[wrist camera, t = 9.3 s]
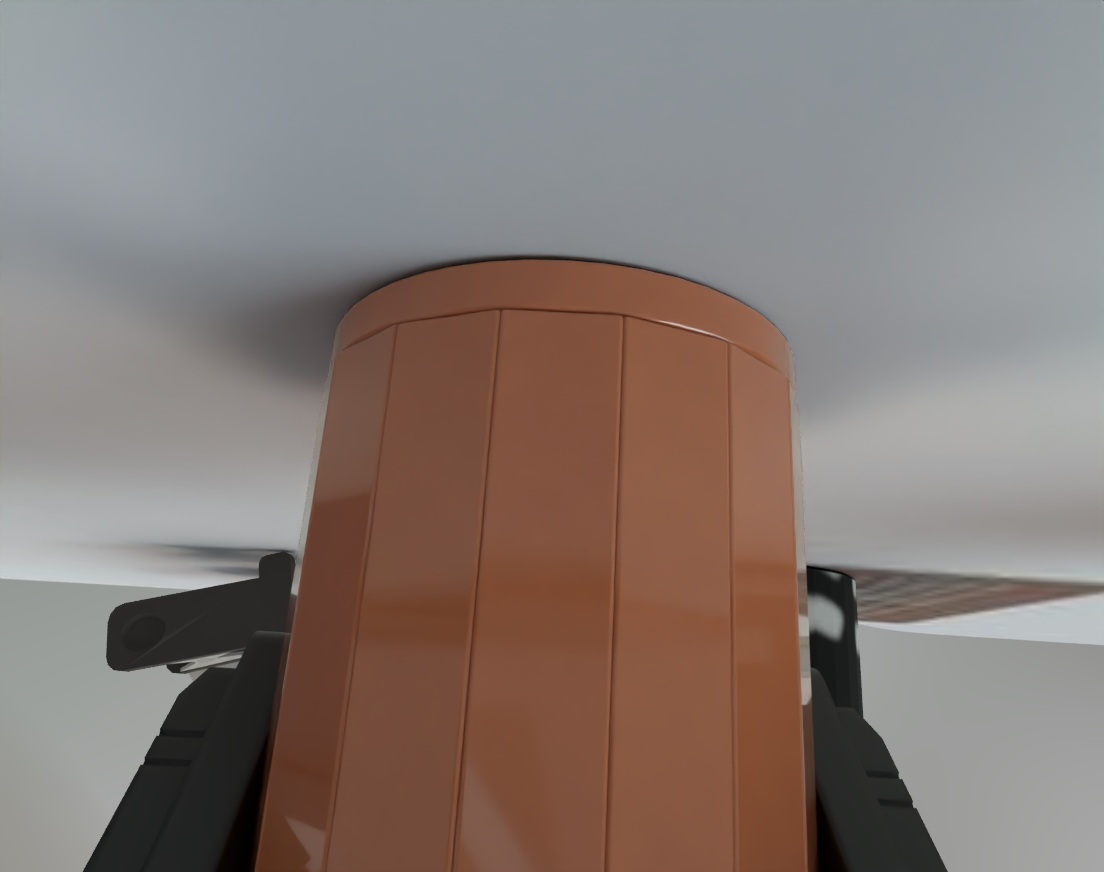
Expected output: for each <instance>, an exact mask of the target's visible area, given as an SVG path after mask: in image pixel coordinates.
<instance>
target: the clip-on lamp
mask: <svg viewBox="0 0 1104 872" xmlns="http://www.w3.org/2000/svg"><path fill="white" fill-rule="evenodd" d="M295 564H296V563H295V559H294V557H293V556H292V555H291V554H289V553H287V552H280V553H275V554H270V555H266V556H264V557H262V559H261V560H260V562H259V578H256V579H250V580H245V581H240V582H234V583H229V584H224V585H219V586H213V587H208V588H203V589H198V590H192V591H187V592H182V593H176V594H171V595H166V596H161V597H156V598H150V599H145V600H140V601H134V602H129V603H124V604H122V605H120V606H118V607H116V608H115V609H114V611H113V612H112V613H111V614H110V617H109V621H108V630H107V631H108V632H107V652H106V653H107V654H106V658H107V663H108V665H109V666H110V667H111V668H112V669H113V670H117V671H128V672H129V671H134V670H139V669H145V668H150V667H155V666H160V665H167V668H168V669H169V670H170V671H171V672H172V673H181V674H186V673H189V674H190V677H191V678H192V680H193V682H194V681H195V680H196V679H197V678H198V677H199V676H200V675H201V674H203V673H204V672H205V671H206V670H207V669H208V668H209V667H222V668H236V667H237V665H238V663H239V661H240V659H241V657H242V654H243V652H244V650H245V648H246V646H247V644H248V642H249V640H250V638H251V636H252V635H253V633H254V632H256V631H271V632H285V627H286V621H287V615H288V608H289V602H290V596H291V590H292V583H293V577H294V571H295Z"/></svg>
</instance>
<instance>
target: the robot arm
mask: <svg viewBox="0 0 1104 872" xmlns="http://www.w3.org/2000/svg"><path fill="white" fill-rule="evenodd" d="M284 633H285V632H271V631H256V632H254V633H253V635H252V636H251V638H250V640H249V642H248V644H247V646H246V648H245V650H244V652H243V654H242V657H241V659H240V661H239V663H238V665H237V667H236V668H222V667H209V668H208V669H207V670H206V671H205V672H204V673H203V674H201V675H200V676H199V677H198V678H197V679H196V680H195V681H194V682H193V683H191V684H190V685H189V686H188V687H187V688H186V689H185V690H184V691H182V692H181V693H180V694H179V695H178V697H177V699H176V701H175V703H174V705H173V706H172V708H171V710H170V712H169V714H168V715H167V717H166V719H165V721H164V723H163V725H162V727H161V728H160V734H159V736H156V738H155V739H154V741H153V743H152V745H151V747H150V749H149V751H148V752H147V754H146V756H145V762H144V764H143V765H140V767H139V769H138V771H137V773H136V775H135V776H134V778H133V780H132V782H131V784H130V786H129V787H128V789H127V791H126V793H125V795H124V797H123V798H122V801H121V802H120V804H119V806H118V808H117V810H116V811H115V813H114V815H113V817H112V819H111V821H110V823H109V825H108V826H107V828H106V830H105V832H104V834H103V835H102V837H101V839H100V841H99V843H98V845H97V847H96V848H95V850H94V852H93V854H92V856H91V858H90V860H89V861H88V863H87V865H86V867H85V869H84V871H83V872H247V867H248V860H249V854H250V848H251V842H252V835H253V829H254V823H255V816H256V810H257V804H258V798H259V791H260V785H261V779H262V773H263V766H264V760H265V754H266V747H267V741H268V735H269V729H270V721H271V715H272V709H273V702H274V696H275V690H276V684H277V677H278V671H279V665H280V658H281V652H282V646H283V640H284ZM810 670H811V694H812V718H813V742H814V766H815V790H816V815H817V839H818V863H819V872H948V871H947V869H946V867H945V865H944V863H943V861H942V859H941V857H940V855H939V853H938V851H937V849H936V847H935V845H934V843H933V841H932V839H931V837H930V835H929V833H928V831H927V829H926V827H925V825H924V823H923V821H922V819H921V817H920V815H919V813H918V810H917V809H916V808H913V805H912V802H913V801H912V798H911V796H910V794H909V792H908V790H907V788H906V786H905V784H904V782H903V780H902V779H899V776H898V774H899V772H898V770H897V768H896V766H895V764H894V762H893V760H892V758H891V756H890V753H889V751H888V749H887V747H886V745H885V743H884V741H883V739H882V738H881V737H880V736H879V735H878V733H877V732H876V731H875V730H874V729H873V728H872V727H871V726H870V725H869V724H868V723H867V722H866V721H865V720H864V719H863V718H862V716H861V715H860V714H859V713H858V712H857V711H856V710H855V709H854V708H846V707H836V706H835V703H834V701H833V699H832V697H831V695H830V692H829V690H828V688H827V686H826V683H825V681H824V679H823V677H822V675H821V674H820V672H819V671H818V670H817V669H815V668H810Z"/></svg>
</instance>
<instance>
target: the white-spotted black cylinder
mask: <svg viewBox="0 0 1104 872" xmlns="http://www.w3.org/2000/svg"><path fill="white" fill-rule="evenodd" d="M806 574H807V598H808V622H809V646H810V668H815V669H817V670H818V671H819V672H820V674H821V675H822V677H823V679H824V681H825V683H826V686H827V688H828V690H829V692H830V695H831V697H832V699H833V701H834V703H835V706H836V707H846V708H854V709H855V710H856V711H857V712H858V713H859V714H860V715H861V716H862V718H863V707H862V688H861V671H860V654H859V636H858V619H857V602H856V585H855V581H854V580H853V579H852V578H850V577H847V576H845V575H842V574H839V573H835V572H830V571H825V570H819V569H812V568H806Z"/></svg>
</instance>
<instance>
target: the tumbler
mask: <svg viewBox="0 0 1104 872" xmlns="http://www.w3.org/2000/svg"><path fill="white" fill-rule="evenodd" d="M247 872H819V863H818V839H817V815H816V790H815V766H814V742H813V718H812V694H811V670H810V646H809V622H808V598H807V574H806V550H805V526H804V501H803V477H802V453H801V429H800V412H799V409H798V406H797V403H796V387H795V365H794V356H793V353H792V351H791V348H790V346H789V344H788V342H787V340H786V338H785V337H784V336H783V335H782V333H781V332H780V331H779V330H778V329H777V327H776V326H775V325H774V324H773V323H771V322H770V321H769V320H768V319H766V318H765V317H764V316H763V315H761V314H760V313H759V312H757V311H756V310H754V309H752V308H751V307H749V306H747V305H745V304H744V303H742V302H740V301H738V300H737V299H735V298H732V297H730V296H728V295H725V294H723V293H721V292H718V291H716V290H714V289H711V288H709V287H706V286H703V285H699V284H696V283H693V282H690V281H687V280H684V279H681V278H678V277H673V276H669V275H665V274H660V273H656V272H652V271H647V270H643V269H637V268H630V267H624V266H618V265H611V264H605V263H593V262H581V261H569V260H509V261H490V262H481V263H474V264H466V265H458V266H451V267H447V268H442V269H438V270H433V271H428V272H424V273H420V274H417V275H414V276H411V277H408V278H405V279H402V280H398V281H395V282H393V283H391V284H389V285H387V286H384V287H382V288H380V289H378V290H376V291H374V292H372V293H370V294H369V295H367V296H366V297H364V298H363V299H362V300H360V301H359V302H357V303H356V304H355V305H354V306H353V307H352V308H351V309H350V310H349V311H348V312H347V313H346V314H345V315H344V317H343V318H342V320H341V322H340V323H339V325H338V327H337V329H336V332H335V338H334V344H333V351H332V357H331V363H330V370H329V375H328V377H327V380H326V383H325V386H324V389H323V395H322V402H321V408H320V414H319V420H318V427H317V433H316V439H315V445H314V452H313V458H312V464H311V471H310V477H309V483H308V489H307V496H306V502H305V508H304V514H303V521H302V527H301V533H300V539H299V546H298V552H297V558H296V564H295V571H294V577H293V583H292V590H291V596H290V602H289V608H288V615H287V621H286V627H285V633H284V640H283V646H282V652H281V658H280V665H279V671H278V677H277V684H276V690H275V696H274V702H273V709H272V715H271V721H270V729H269V735H268V741H267V747H266V754H265V760H264V766H263V773H262V779H261V785H260V791H259V798H258V804H257V810H256V816H255V823H254V829H253V835H252V842H251V848H250V854H249V860H248V867H247Z"/></svg>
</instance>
